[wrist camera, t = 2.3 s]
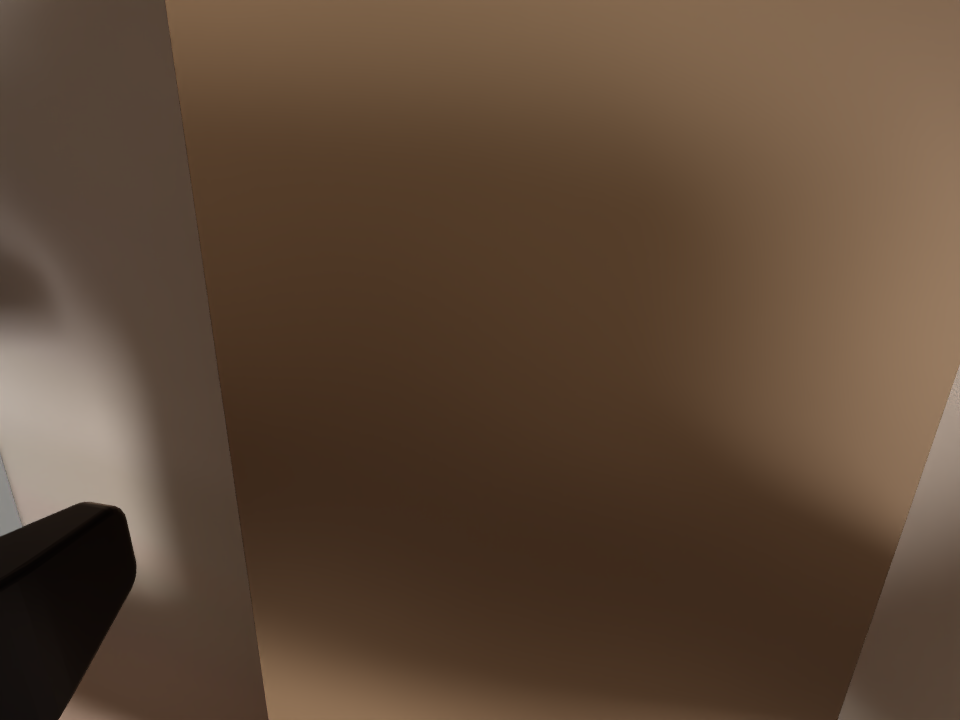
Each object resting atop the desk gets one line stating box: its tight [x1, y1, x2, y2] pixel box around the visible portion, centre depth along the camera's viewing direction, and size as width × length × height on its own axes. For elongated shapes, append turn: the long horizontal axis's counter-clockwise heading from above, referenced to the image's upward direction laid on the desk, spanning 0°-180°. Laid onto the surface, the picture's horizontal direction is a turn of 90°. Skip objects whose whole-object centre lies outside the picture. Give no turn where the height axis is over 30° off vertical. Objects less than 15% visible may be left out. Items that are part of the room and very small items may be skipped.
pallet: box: [165, 0, 960, 720], centre depth 9 cm, size 24×6×5 cm, turn 179°
